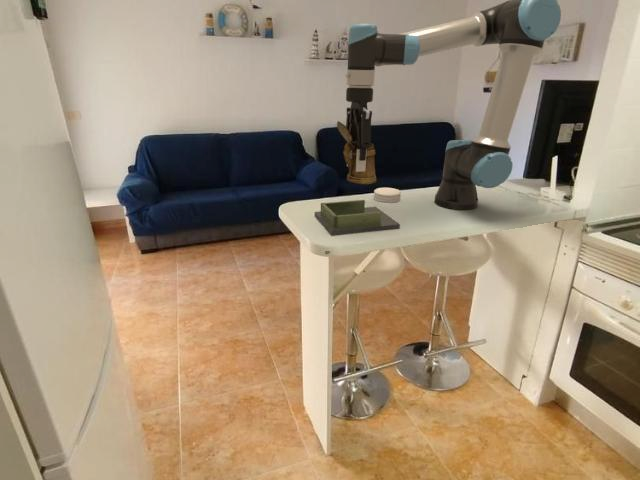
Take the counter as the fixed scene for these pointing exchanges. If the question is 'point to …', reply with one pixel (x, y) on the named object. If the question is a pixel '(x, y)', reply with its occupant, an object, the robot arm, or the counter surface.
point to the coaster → (387, 195)
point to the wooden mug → (353, 176)
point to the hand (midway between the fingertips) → (355, 168)
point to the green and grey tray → (353, 218)
